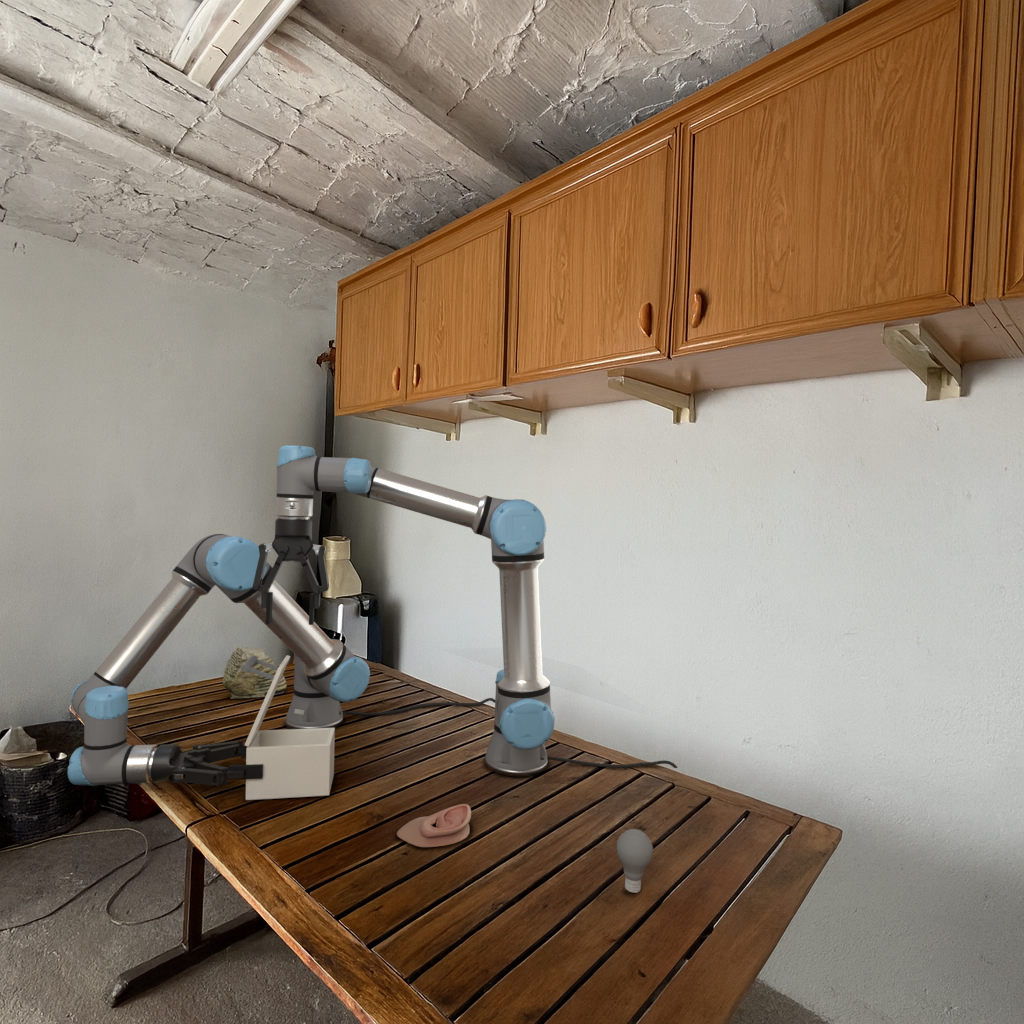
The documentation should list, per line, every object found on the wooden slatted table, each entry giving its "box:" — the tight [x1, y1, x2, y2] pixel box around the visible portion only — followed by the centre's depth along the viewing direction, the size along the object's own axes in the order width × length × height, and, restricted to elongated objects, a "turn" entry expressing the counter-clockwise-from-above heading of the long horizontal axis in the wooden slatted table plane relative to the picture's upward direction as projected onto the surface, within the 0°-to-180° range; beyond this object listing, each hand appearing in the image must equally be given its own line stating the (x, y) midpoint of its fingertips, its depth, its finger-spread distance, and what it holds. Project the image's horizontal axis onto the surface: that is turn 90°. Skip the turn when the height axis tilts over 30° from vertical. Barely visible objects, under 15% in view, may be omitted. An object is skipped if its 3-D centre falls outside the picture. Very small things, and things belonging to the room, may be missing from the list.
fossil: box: [222, 646, 288, 699], centre depth 198 cm, size 9×18×15 cm, turn 132°
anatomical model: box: [396, 803, 472, 848], centre depth 121 cm, size 13×4×12 cm
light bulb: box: [615, 828, 654, 894], centre depth 106 cm, size 6×6×10 cm
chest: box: [245, 727, 336, 801], centre depth 137 cm, size 17×10×11 cm, turn 100°
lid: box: [241, 654, 291, 747], centre depth 135 cm, size 17×10×8 cm
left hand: (267, 760), depth 136 cm, fingers closed on chest, 10 cm apart
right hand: (290, 623), depth 136 cm, fingers open, 8 cm apart
